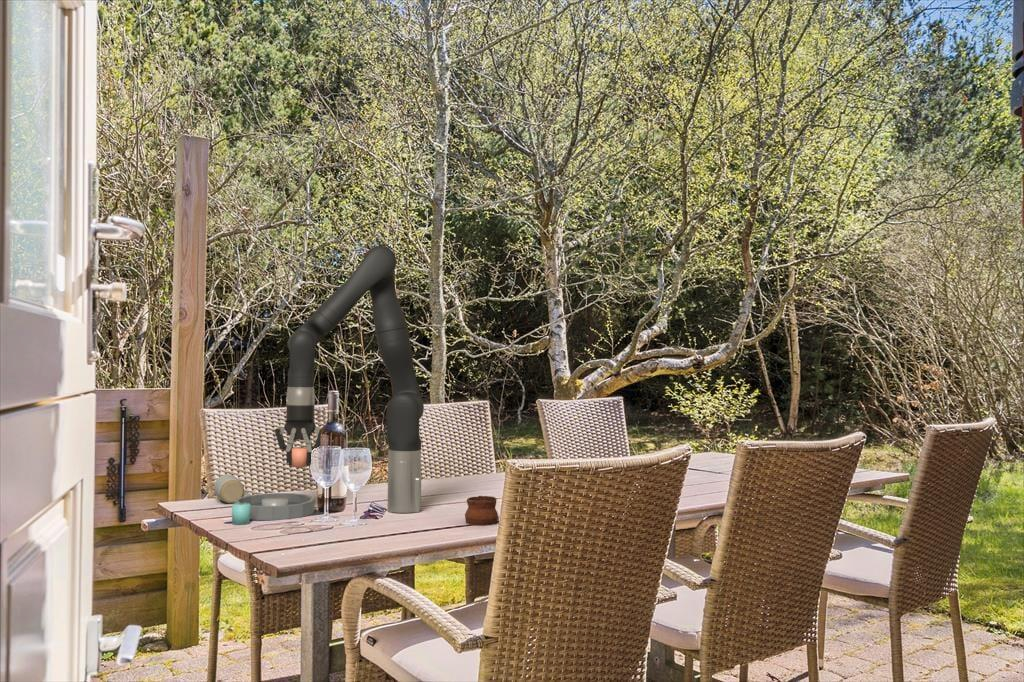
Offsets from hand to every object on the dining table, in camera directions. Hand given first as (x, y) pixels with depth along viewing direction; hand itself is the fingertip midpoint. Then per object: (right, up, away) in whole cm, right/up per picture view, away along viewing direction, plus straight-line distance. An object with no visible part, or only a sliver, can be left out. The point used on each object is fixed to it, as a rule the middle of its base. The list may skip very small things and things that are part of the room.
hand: (299, 464), depth 238 cm
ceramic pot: (+51, -15, -9) cm, 53 cm away
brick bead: (0, 0, 0) cm, 0 cm away
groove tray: (-7, -13, 0) cm, 15 cm away
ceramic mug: (-23, -13, +15) cm, 31 cm away
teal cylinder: (-11, -13, -15) cm, 23 cm away
